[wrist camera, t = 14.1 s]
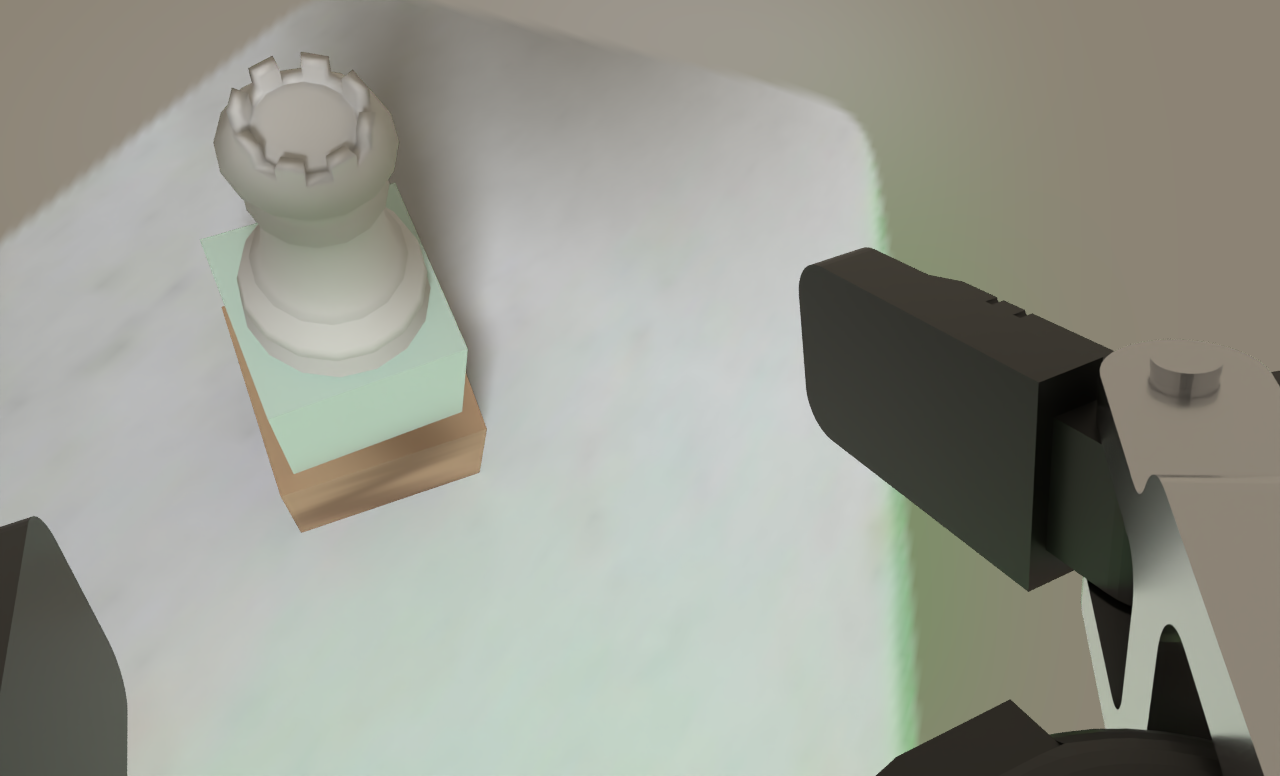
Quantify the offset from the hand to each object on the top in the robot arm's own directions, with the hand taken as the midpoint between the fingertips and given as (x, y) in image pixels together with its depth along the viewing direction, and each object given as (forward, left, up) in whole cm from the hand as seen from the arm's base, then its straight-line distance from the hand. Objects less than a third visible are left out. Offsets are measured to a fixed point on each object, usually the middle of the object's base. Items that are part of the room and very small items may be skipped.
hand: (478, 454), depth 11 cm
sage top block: (0, +9, -19) cm, 21 cm away
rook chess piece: (0, +8, -14) cm, 16 cm away
